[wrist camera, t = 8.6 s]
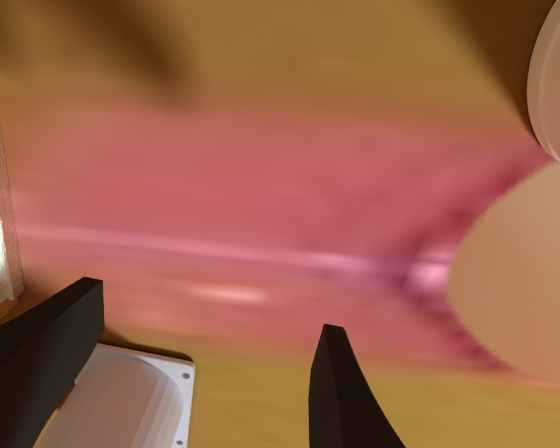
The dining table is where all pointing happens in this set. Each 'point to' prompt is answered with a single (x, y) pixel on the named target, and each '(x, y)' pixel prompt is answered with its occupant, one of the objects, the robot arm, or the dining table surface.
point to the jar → (546, 84)
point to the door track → (8, 245)
